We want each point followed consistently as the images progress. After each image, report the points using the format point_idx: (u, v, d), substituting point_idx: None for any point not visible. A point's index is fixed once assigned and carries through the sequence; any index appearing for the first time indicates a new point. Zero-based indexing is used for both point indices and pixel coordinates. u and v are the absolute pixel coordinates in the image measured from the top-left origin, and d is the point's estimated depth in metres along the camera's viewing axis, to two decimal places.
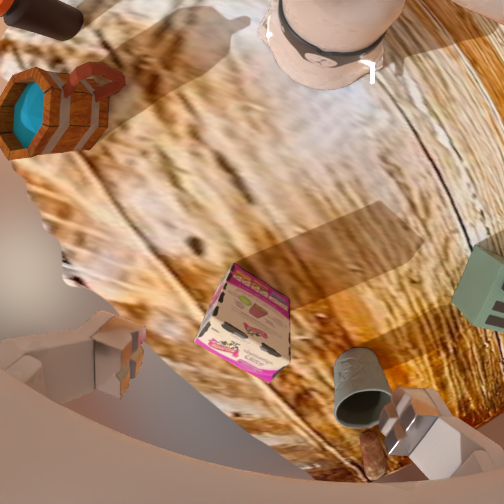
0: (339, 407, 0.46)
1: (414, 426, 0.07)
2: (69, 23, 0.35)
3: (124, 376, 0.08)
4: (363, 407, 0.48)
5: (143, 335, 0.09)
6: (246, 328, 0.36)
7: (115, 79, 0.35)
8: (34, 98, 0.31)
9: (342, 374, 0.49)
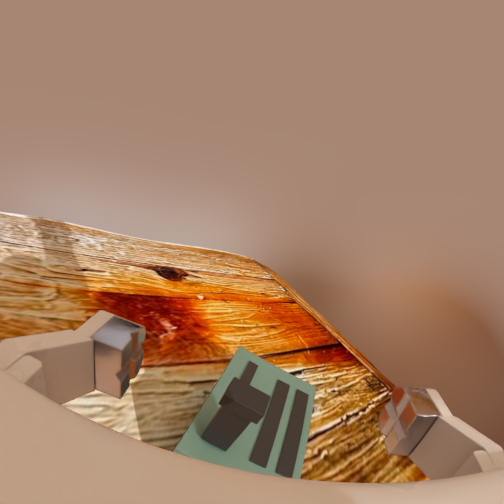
0: None
1: (414, 426, 0.07)
2: None
3: (124, 376, 0.08)
4: None
5: (143, 335, 0.09)
6: None
7: None
8: None
9: None
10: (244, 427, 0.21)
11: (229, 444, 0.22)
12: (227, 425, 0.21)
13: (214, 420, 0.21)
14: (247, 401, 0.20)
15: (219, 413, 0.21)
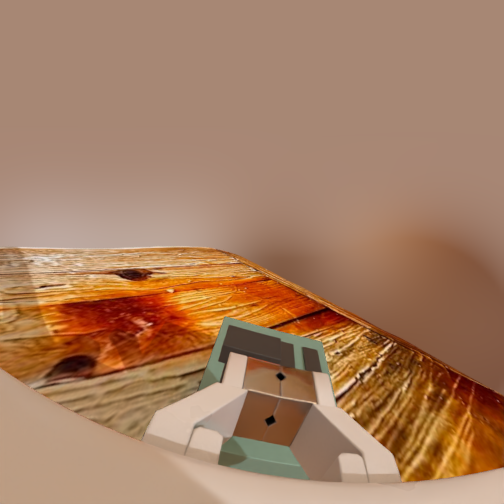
0: None
1: (283, 411, 0.07)
2: None
3: (267, 418, 0.07)
4: None
5: None
6: None
7: None
8: None
9: None
10: None
11: None
12: None
13: None
14: (254, 347, 0.16)
15: None
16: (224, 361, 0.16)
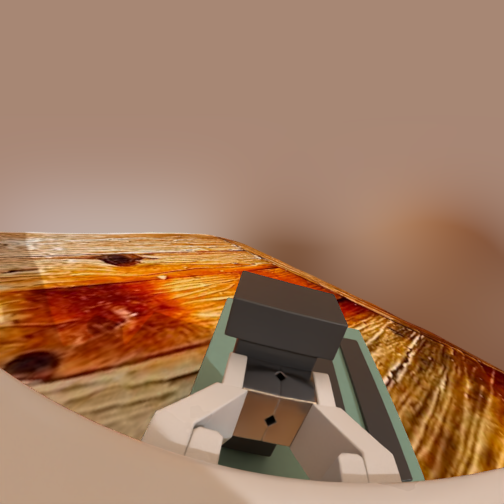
0: None
1: (283, 411, 0.07)
2: None
3: (267, 418, 0.07)
4: None
5: None
6: None
7: None
8: None
9: None
10: None
11: None
12: None
13: None
14: (295, 305, 0.09)
15: None
16: (236, 334, 0.08)
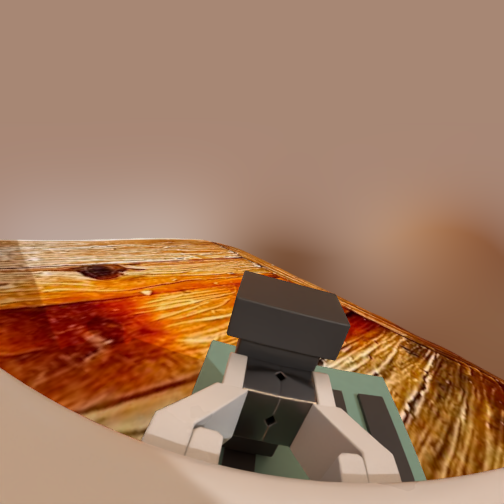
0: None
1: (283, 411, 0.07)
2: None
3: (268, 419, 0.07)
4: None
5: None
6: None
7: None
8: None
9: None
10: None
11: None
12: None
13: None
14: (297, 305, 0.09)
15: None
16: (239, 334, 0.08)
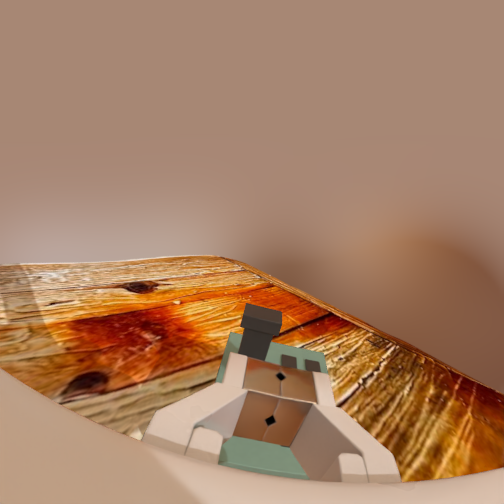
0: None
1: (283, 411, 0.07)
2: None
3: (267, 418, 0.07)
4: None
5: None
6: None
7: None
8: None
9: None
10: (268, 344, 0.26)
11: None
12: (253, 348, 0.26)
13: (240, 347, 0.26)
14: (264, 316, 0.25)
15: (243, 337, 0.26)
16: (244, 326, 0.25)
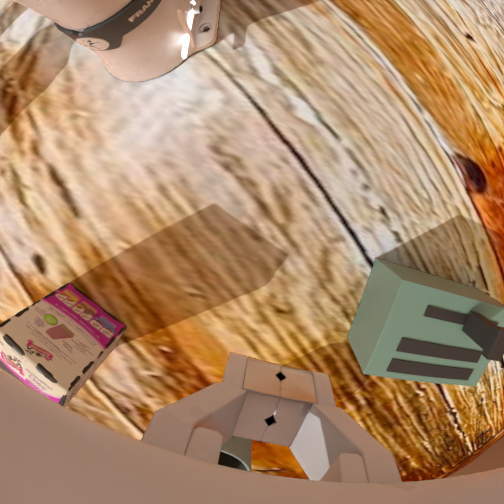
0: None
1: (283, 411, 0.07)
2: None
3: (267, 418, 0.07)
4: (225, 465, 0.36)
5: None
6: (29, 345, 0.26)
7: None
8: None
9: None
10: (479, 344, 0.24)
11: (466, 333, 0.27)
12: (480, 331, 0.25)
13: (483, 321, 0.25)
14: (496, 346, 0.22)
15: (488, 325, 0.24)
16: (493, 328, 0.23)
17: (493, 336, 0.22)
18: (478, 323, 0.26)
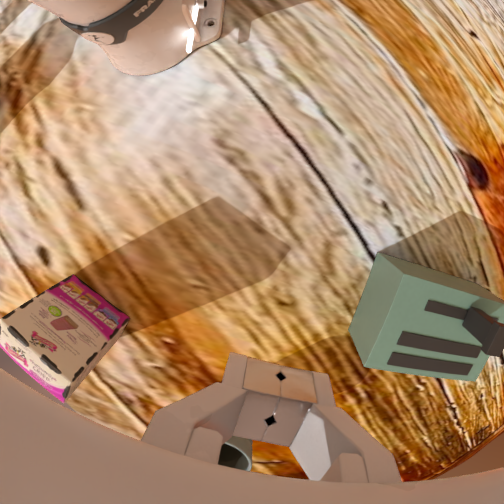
0: None
1: (283, 411, 0.07)
2: None
3: (267, 418, 0.07)
4: (226, 456, 0.37)
5: None
6: (33, 337, 0.27)
7: None
8: None
9: None
10: (478, 340, 0.25)
11: (466, 328, 0.27)
12: (480, 327, 0.25)
13: (483, 317, 0.25)
14: (495, 342, 0.22)
15: (487, 321, 0.24)
16: (493, 324, 0.23)
17: (493, 332, 0.23)
18: (478, 318, 0.26)
